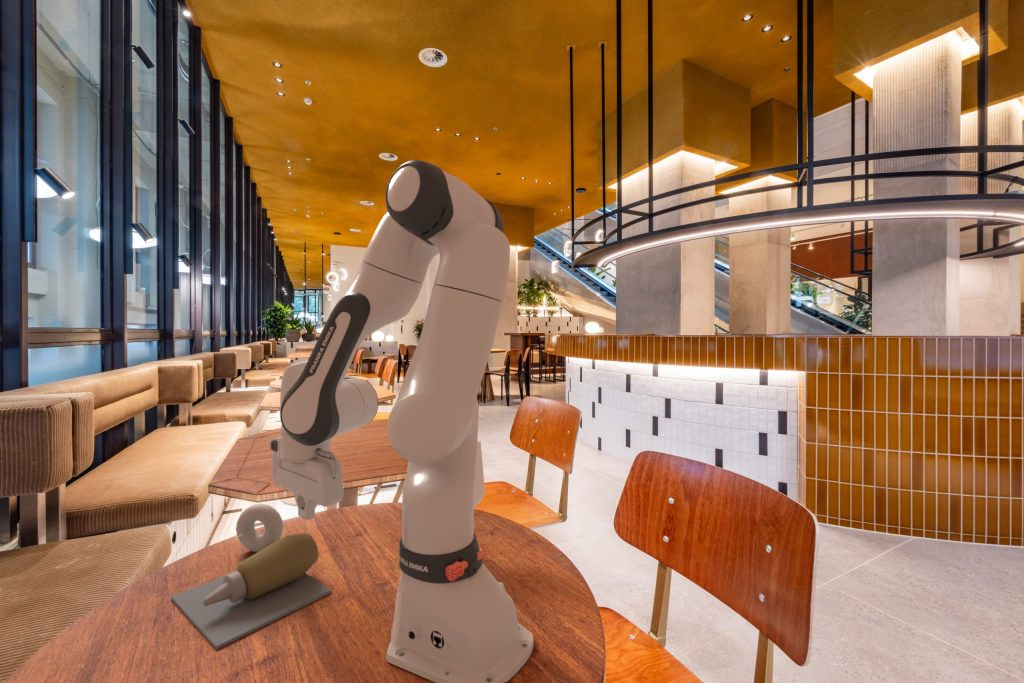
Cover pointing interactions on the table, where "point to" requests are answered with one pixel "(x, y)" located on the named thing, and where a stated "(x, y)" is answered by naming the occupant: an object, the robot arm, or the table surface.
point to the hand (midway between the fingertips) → (306, 517)
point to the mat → (245, 608)
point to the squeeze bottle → (268, 569)
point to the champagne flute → (479, 476)
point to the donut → (246, 527)
